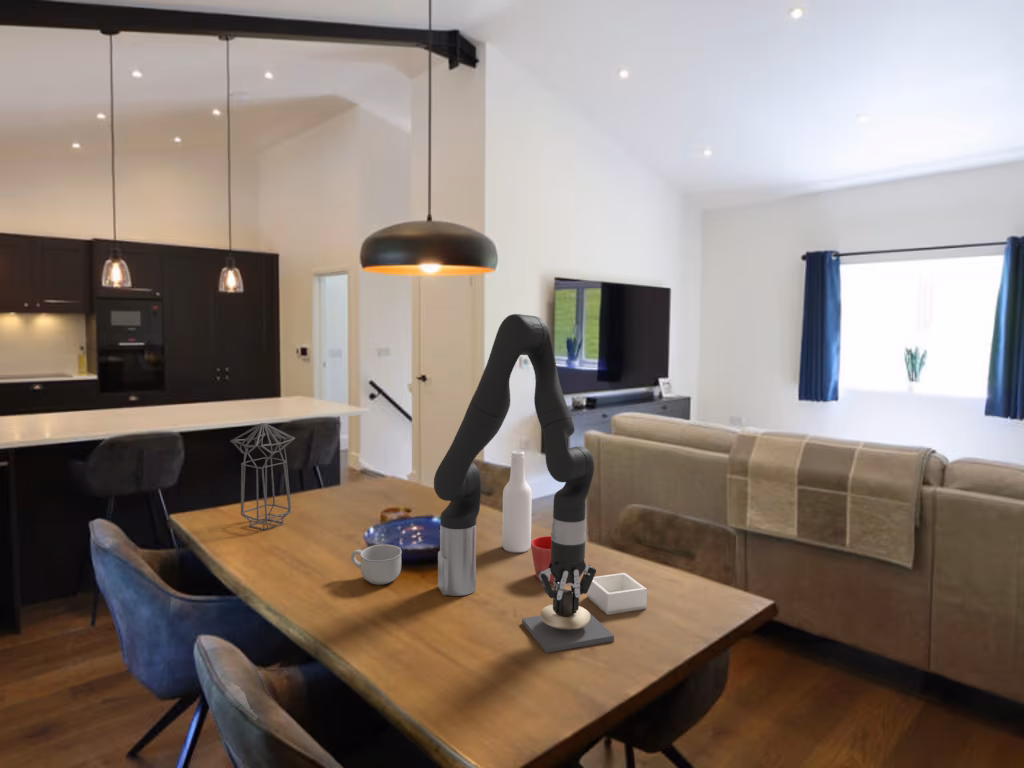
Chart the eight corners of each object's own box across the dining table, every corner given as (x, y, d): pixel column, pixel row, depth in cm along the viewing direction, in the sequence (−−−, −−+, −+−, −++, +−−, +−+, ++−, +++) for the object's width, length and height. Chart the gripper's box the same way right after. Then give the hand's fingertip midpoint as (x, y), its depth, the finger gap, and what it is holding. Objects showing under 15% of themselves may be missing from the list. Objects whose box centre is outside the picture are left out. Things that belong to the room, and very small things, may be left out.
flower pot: (568, 586, 166) (569, 550, 166) (527, 582, 169) (527, 547, 168) (572, 571, 177) (573, 537, 176) (533, 568, 179) (534, 534, 178)
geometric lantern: (300, 523, 216) (297, 422, 212) (260, 537, 203) (256, 429, 199) (270, 515, 225) (267, 417, 221) (230, 527, 211) (226, 424, 207)
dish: (607, 614, 150) (607, 594, 150) (587, 596, 160) (587, 577, 160) (646, 608, 154) (646, 588, 153) (624, 591, 164) (624, 572, 163)
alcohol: (531, 544, 199) (533, 449, 196) (529, 554, 190) (531, 455, 187) (503, 542, 200) (505, 448, 197) (500, 552, 191) (501, 454, 188)
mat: (546, 652, 132) (546, 647, 132) (522, 623, 145) (522, 618, 145) (614, 641, 138) (614, 635, 138) (585, 613, 151) (585, 608, 151)
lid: (552, 632, 134) (553, 606, 134) (533, 610, 145) (533, 585, 144) (599, 625, 138) (600, 599, 138) (576, 604, 148) (577, 580, 148)
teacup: (409, 577, 172) (409, 548, 171) (385, 591, 162) (385, 561, 161) (367, 568, 177) (367, 540, 177) (342, 581, 168) (341, 552, 167)
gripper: (545, 546, 134) (542, 625, 135) (604, 540, 138) (601, 616, 140) (532, 535, 141) (530, 609, 142) (589, 529, 145) (586, 602, 147)
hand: (565, 612), depth 141 cm, fingers closed on lid, 3 cm apart
